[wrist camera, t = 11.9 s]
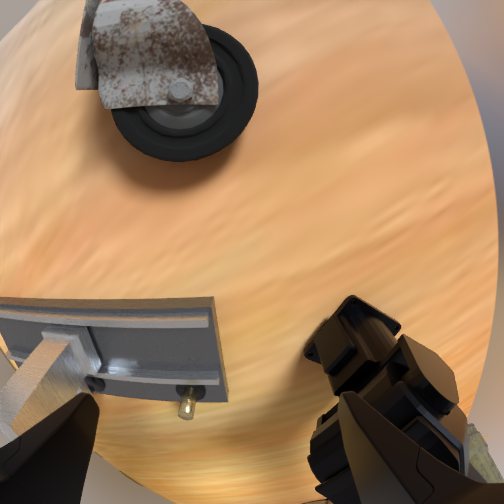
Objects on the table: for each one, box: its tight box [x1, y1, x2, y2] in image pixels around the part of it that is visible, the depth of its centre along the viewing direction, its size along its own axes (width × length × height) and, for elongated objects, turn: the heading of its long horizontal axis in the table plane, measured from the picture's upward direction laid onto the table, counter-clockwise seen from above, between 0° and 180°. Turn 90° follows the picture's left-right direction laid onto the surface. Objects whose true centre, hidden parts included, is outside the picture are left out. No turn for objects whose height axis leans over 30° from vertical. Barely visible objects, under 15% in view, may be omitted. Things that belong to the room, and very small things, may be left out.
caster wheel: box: [75, 0, 259, 162], centre depth 13 cm, size 7×11×10 cm
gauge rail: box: [0, 297, 229, 420], centre depth 20 cm, size 26×10×4 cm, turn 94°
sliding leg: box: [0, 324, 102, 442], centre depth 15 cm, size 4×7×11 cm, turn 4°
